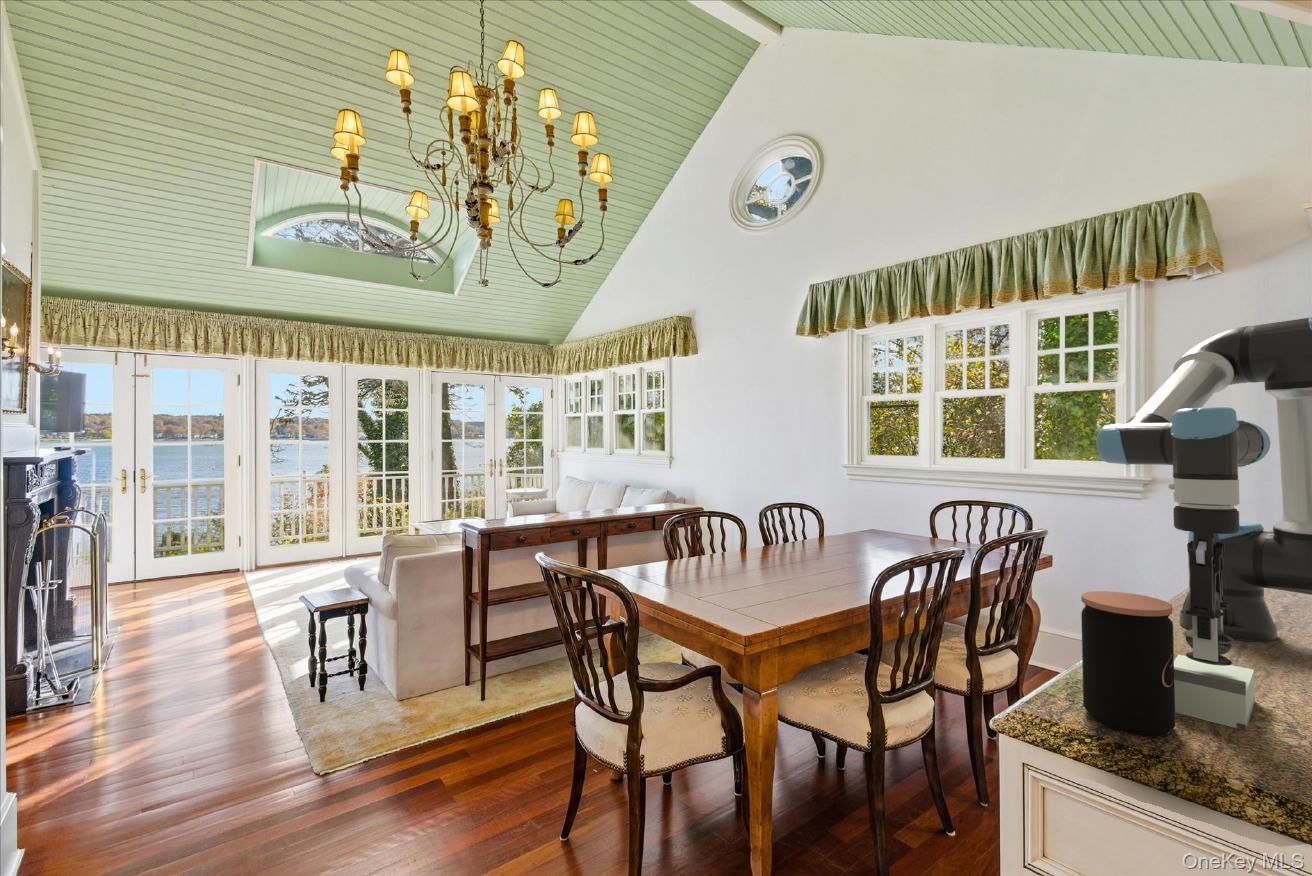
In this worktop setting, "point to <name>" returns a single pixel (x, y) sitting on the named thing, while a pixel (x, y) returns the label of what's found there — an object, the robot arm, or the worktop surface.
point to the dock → (1214, 692)
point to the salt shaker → (1223, 640)
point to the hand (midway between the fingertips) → (1208, 653)
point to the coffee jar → (1128, 662)
